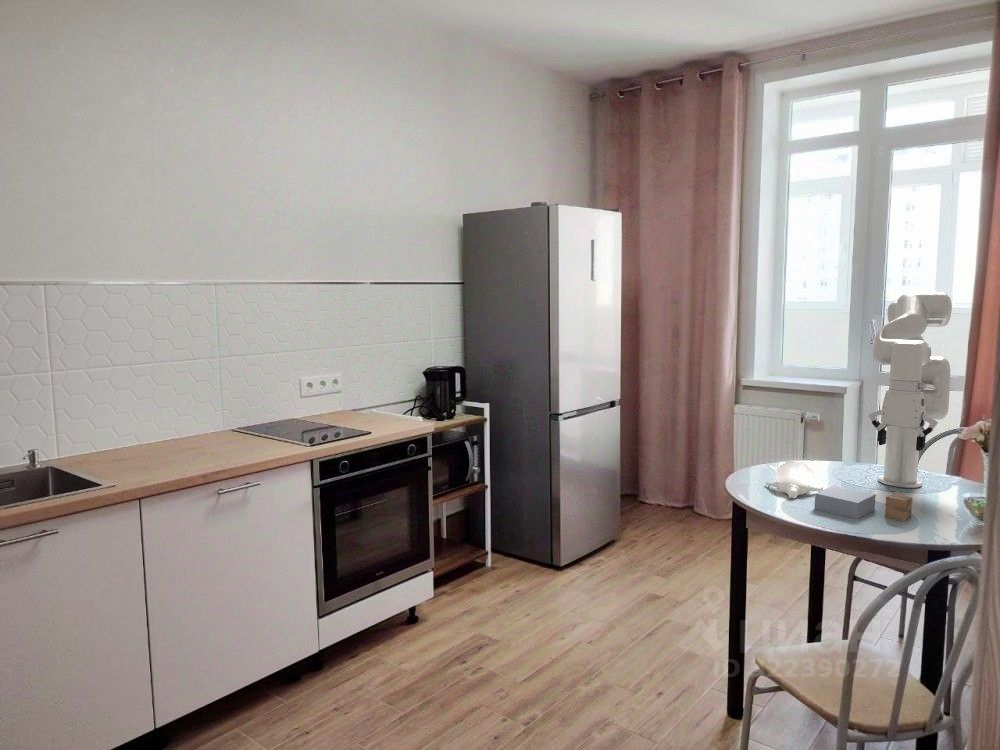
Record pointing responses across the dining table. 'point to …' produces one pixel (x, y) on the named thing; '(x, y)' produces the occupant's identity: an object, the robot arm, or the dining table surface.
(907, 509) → the walnut block
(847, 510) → the plinth
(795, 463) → the figurine
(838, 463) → the dining table surface
